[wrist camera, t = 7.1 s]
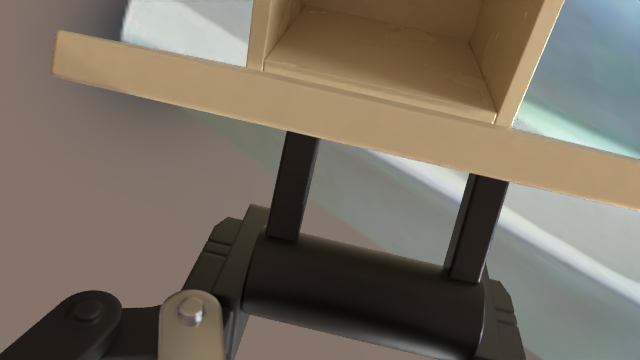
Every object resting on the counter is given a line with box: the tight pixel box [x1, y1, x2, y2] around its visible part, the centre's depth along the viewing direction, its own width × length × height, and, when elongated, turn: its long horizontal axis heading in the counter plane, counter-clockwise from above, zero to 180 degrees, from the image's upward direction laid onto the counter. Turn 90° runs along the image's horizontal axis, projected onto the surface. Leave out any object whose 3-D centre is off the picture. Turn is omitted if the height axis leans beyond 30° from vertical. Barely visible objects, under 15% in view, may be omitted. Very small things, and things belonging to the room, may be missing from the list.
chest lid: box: [51, 30, 640, 360], centre depth 17 cm, size 15×13×5 cm
